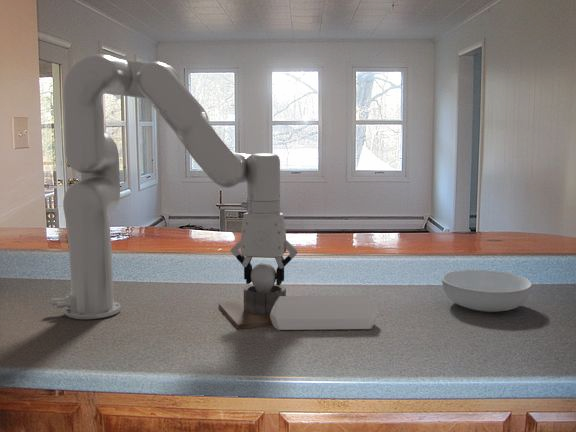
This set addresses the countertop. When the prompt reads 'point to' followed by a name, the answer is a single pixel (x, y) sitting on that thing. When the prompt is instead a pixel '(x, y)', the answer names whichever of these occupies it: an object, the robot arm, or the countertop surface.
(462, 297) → the serving bowl
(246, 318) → the socket
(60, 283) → the countertop surface
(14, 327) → the countertop surface
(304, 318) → the crystal
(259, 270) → the lightbulb
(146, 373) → the countertop surface
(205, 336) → the countertop surface
